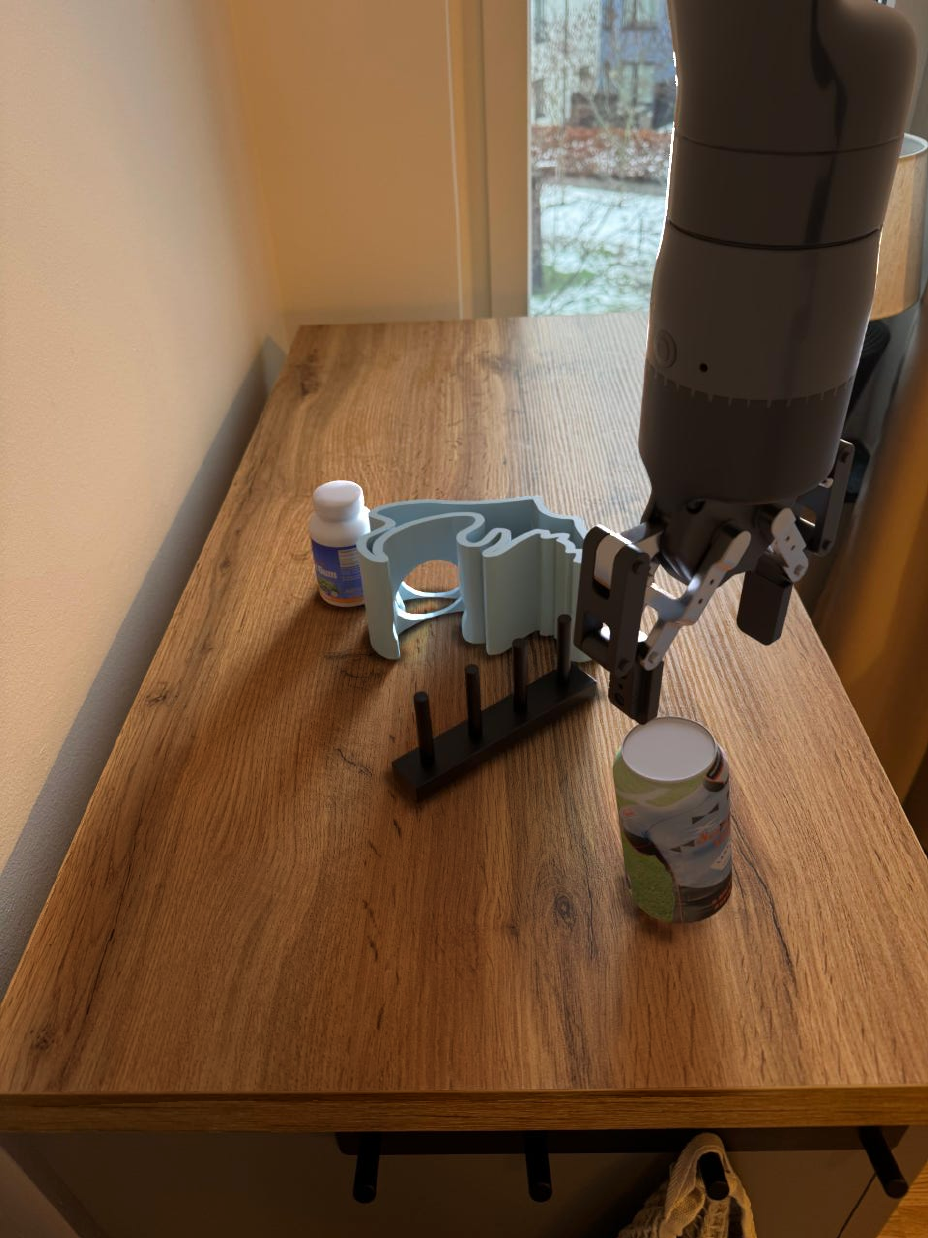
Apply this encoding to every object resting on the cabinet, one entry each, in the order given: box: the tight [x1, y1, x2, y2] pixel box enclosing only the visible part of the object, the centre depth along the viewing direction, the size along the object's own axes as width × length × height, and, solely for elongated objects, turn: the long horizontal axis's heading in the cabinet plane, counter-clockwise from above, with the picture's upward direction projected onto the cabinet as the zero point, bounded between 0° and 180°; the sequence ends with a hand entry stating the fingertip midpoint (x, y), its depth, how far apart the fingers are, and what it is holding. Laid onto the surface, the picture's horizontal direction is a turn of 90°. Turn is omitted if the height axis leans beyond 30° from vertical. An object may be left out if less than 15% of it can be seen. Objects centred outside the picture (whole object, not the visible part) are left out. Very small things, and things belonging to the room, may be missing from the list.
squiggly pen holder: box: [356, 495, 593, 663], centre depth 71 cm, size 18×10×9 cm, turn 92°
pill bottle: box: [307, 480, 371, 608], centre depth 76 cm, size 5×5×10 cm
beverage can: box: [612, 715, 733, 925], centre depth 51 cm, size 6×7×12 cm
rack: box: [390, 614, 598, 804], centre depth 63 cm, size 3×16×8 cm, turn 127°
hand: (698, 671), depth 44 cm, fingers open, 8 cm apart
